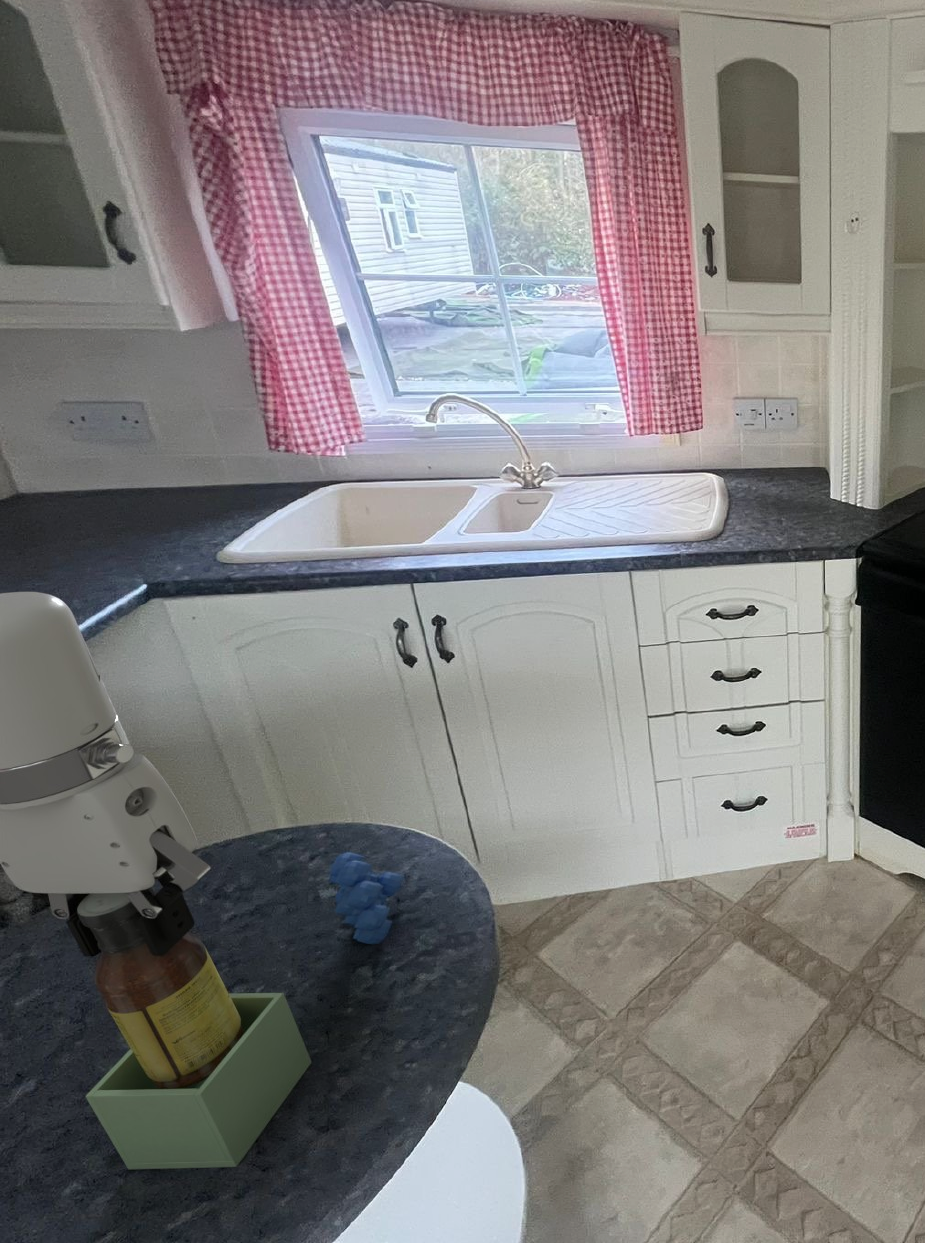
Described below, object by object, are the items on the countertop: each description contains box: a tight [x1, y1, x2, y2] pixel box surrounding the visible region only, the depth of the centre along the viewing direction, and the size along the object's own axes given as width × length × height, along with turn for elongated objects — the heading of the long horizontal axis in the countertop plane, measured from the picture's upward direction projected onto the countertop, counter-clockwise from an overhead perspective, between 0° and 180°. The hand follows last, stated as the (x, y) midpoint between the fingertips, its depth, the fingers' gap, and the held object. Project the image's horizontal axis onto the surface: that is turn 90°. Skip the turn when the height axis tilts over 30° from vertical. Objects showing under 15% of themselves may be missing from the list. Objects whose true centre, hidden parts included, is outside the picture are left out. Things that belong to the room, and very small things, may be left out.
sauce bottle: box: [77, 885, 244, 1089], centre depth 63 cm, size 7×6×20 cm
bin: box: [84, 992, 312, 1170], centre depth 67 cm, size 9×9×10 cm
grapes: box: [328, 851, 405, 945], centre depth 85 cm, size 12×7×12 cm, turn 51°
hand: (141, 939), depth 61 cm, fingers closed on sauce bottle, 4 cm apart
